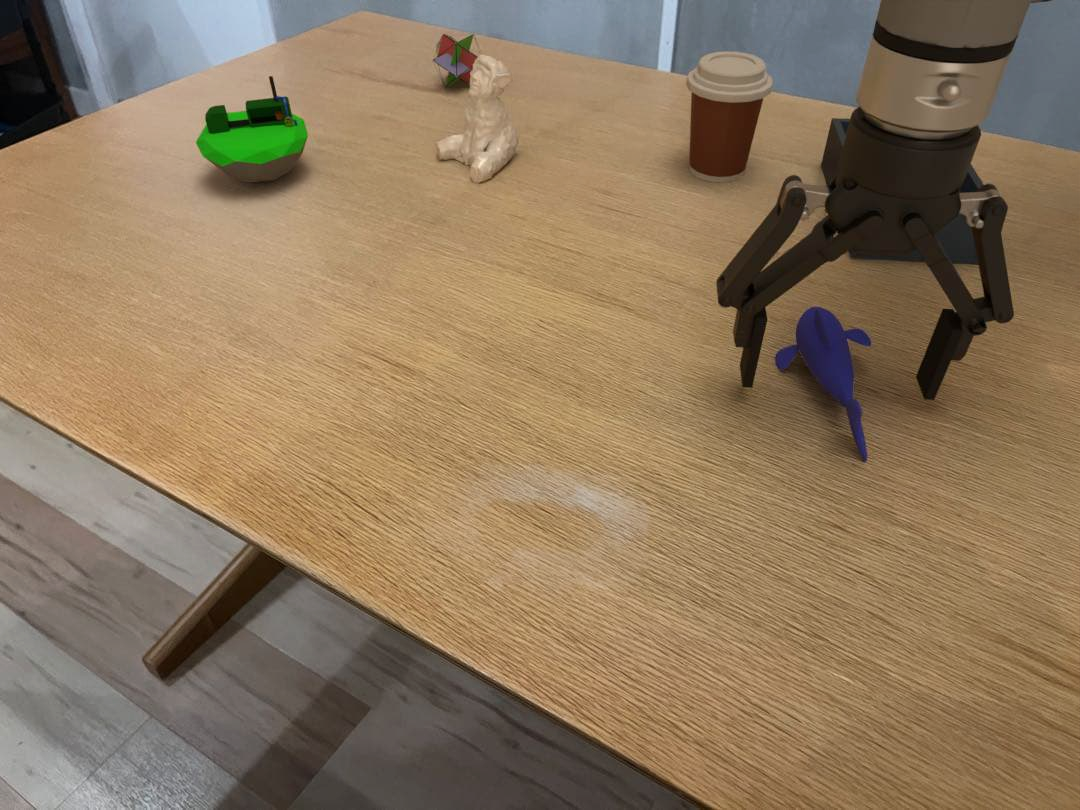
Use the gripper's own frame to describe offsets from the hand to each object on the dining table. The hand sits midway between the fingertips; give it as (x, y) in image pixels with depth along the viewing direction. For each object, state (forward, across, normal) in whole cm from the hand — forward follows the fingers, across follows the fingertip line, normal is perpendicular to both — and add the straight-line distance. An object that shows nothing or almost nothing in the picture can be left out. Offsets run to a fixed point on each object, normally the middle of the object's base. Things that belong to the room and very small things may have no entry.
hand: (834, 382), depth 64 cm
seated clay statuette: (+2, -34, +39) cm, 52 cm away
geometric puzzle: (+2, -41, +62) cm, 74 cm away
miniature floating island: (+2, -59, +33) cm, 68 cm away
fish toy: (+2, 0, 0) cm, 2 cm away
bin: (+1, +11, +31) cm, 33 cm away
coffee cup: (+2, -7, +39) cm, 40 cm away
